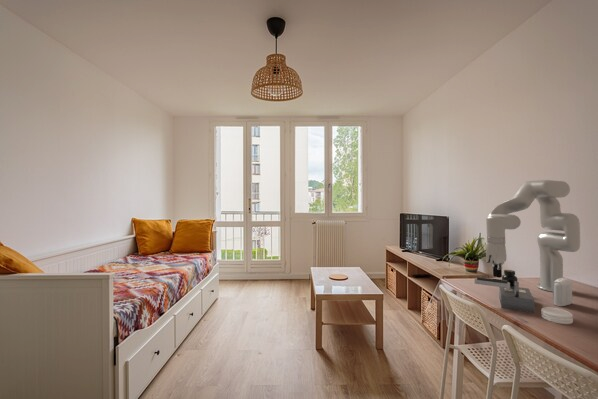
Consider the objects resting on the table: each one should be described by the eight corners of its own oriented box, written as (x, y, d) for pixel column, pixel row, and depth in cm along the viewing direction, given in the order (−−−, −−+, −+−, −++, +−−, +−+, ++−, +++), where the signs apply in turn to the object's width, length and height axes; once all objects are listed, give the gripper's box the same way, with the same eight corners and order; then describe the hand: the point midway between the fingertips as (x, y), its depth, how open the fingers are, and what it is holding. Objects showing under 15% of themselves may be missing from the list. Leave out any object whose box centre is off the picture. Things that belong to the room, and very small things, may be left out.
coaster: (541, 312, 127) (541, 305, 127) (572, 318, 121) (572, 310, 121) (541, 320, 120) (541, 312, 120) (574, 327, 113) (573, 318, 113)
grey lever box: (499, 296, 148) (498, 272, 148) (528, 300, 142) (528, 275, 142) (501, 307, 133) (500, 281, 133) (534, 313, 126) (533, 285, 126)
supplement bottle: (520, 295, 149) (520, 272, 149) (505, 294, 150) (505, 272, 150) (513, 291, 156) (513, 269, 156) (499, 290, 157) (499, 268, 157)
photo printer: (562, 300, 140) (562, 275, 140) (573, 303, 136) (573, 278, 136) (551, 304, 136) (551, 278, 136) (562, 307, 132) (562, 281, 132)
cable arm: (474, 283, 140) (474, 277, 140) (475, 282, 142) (474, 276, 142) (510, 288, 132) (509, 281, 132) (509, 286, 134) (509, 280, 134)
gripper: (496, 237, 149) (497, 272, 149) (479, 241, 142) (480, 277, 142) (512, 239, 142) (514, 275, 142) (495, 243, 135) (497, 281, 136)
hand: (497, 276), depth 142 cm, fingers closed
